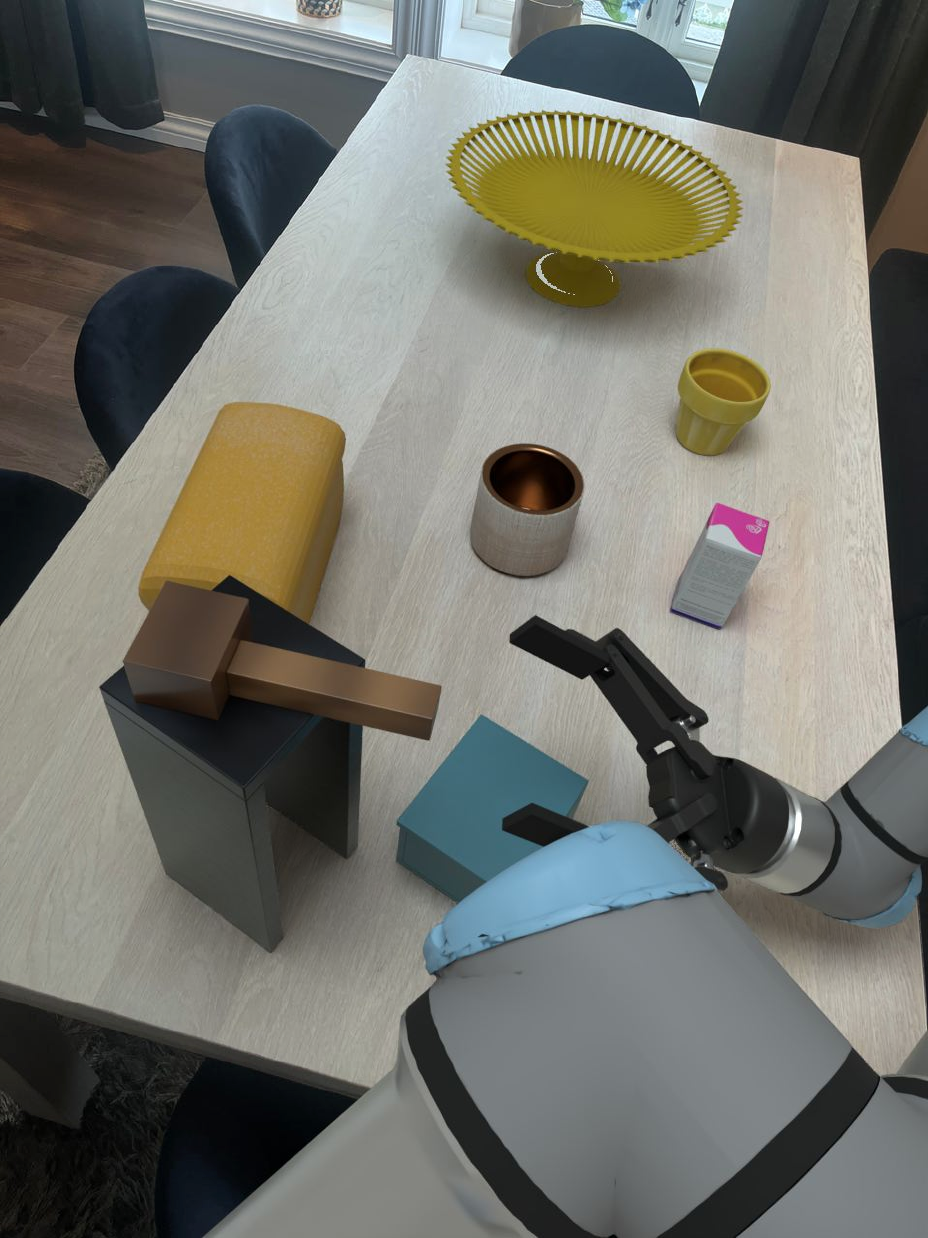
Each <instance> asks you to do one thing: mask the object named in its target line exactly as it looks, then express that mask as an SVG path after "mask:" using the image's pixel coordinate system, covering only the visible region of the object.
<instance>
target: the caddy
mask: <svg viewBox="0 0 928 1238" xmlns="http://www.w3.org/2000/svg"><path fill="white" fill-rule="evenodd" d="M587 787H588V785H587V786H586V788H585V789H584V791H583V792H582V794H581V796H580V797H579V799H578V800H577V802H576V803H575V805H574V806H573V808H572V809H571V811H570V812H569V814H568V815H567V817H568V818H570V819H573V818H574V817H575V813H576V811H577V809H578V807H579V806H580V805H579V804H580V803H581V800H582V798H583V796H584V794H585V791H586V789H587ZM395 856H396V857H395V861H396V862H397V863H399V864H400V865H401V866H403V867H404V868H406V869H408V870H409V871H410V872H411V873H413V874H415V875H416V876H418V877H419V878H420V879H421V880H423V881H425V882H426V883H428V884H429V885H430V886H432V887H433V888H435V889H436V890H438V891H439V892H441V893H442V894H444V895H445V896H447V898H449V899H451V900H452V901H454V902H455V903H457V904H458V903H459V902H461V901H462V900H463V899H464V898H466V897H467V896H468V895H470V894H471V893H472V892H474V891H475V890H476V889H478V888H479V887H480V886H482V885H483V883H481V882H480V881H478V880H477V879H475V878H474V877H472V876H471V875H469V874H468V873H466V872H465V871H463V870H462V869H460V868H459V867H458V866H456V865H455V864H453V863H452V862H450V861H449V860H447V859H446V858H444V857H443V856H441V855H440V854H438V853H437V852H435V851H434V850H432V849H431V848H429V847H428V846H426V845H425V844H424V843H422V842H421V841H419V840H418V839H416V838H415V837H413V836H412V835H410V834H409V833H407V832H406V831H404V830H403V829H401V828H400V827H399V832H398V841H397V849H396V855H395Z"/></svg>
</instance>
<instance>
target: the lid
mask: <svg viewBox="0 0 928 1238" xmlns="http://www.w3.org/2000/svg"><path fill="white" fill-rule="evenodd" d="M589 782H590V780H589V779H587V778H586V777H584V776H582V775H581V774H579V773H578V772H576V771H574V770H573V769H571V768H570V767H568V766H566V765H565V764H563V763H562V762H560V761H558V760H556V759H554V757H551V756H550V755H548V754H547V753H545V752H544V751H542V750H540V749H539V748H538V747H536V746H534V745H532V744H531V743H529V742H528V741H526V740H525V739H523V738H521V737H519V736H517V735H516V734H515V733H513V732H512V731H510V730H508V729H506V728H505V727H503V726H502V725H500V724H498V723H497V722H495V721H493V720H492V719H491V718H488V716H485V715H483V714H482V713H481V714H480V715H479V716H478V718H477V719H476V720H475V721H474V722H473V724H472V725H471V726H470V727H469V729H468V730H467V732H466V733H465V734H464V735H463V737H462V738H461V739H460V740H459V741H458V742H457V744H456V745H455V747H453V749H451V752H449V754H448V755H447V756H446V757H445V759H444V760H443V762H442V763H441V764H440V766H438V768H437V769H436V770H435V772H434V773H433V774H432V775H431V777H430V778H429V779H428V780H427V782H426V783H425V784H424V785H423V787H422V788H421V790H420V791H419V792H418V793H417V794H416V796H415V797H414V798H413V800H412V801H411V802H410V803H409V804H408V806H407V807H406V808H405V810H404V811H403V812H402V813H401V815H400V816H399V817H398V819H397V820H396V823H395V824H396V826H397V827H399V829H400V828H401V829H403V830H404V831H406V832H407V833H409V834H410V835H412V836H413V837H415V838H416V839H418V840H419V841H421V842H422V843H424V844H425V845H426V846H428V847H429V848H431V849H432V850H434V851H435V852H437V853H438V854H440V855H441V856H443V857H444V858H446V859H447V860H449V861H450V862H452V863H453V864H455V865H456V866H458V867H459V868H460V869H462V870H463V871H465V872H466V873H468V874H469V875H471V876H472V877H474V878H475V879H477V880H478V881H480V882H481V883H483V884H485V883H486V882H488V881H489V880H491V879H492V878H493V877H495V876H496V875H498V874H499V873H501V872H502V871H504V870H505V869H507V868H509V867H510V866H512V865H513V864H515V863H517V862H518V861H520V860H522V859H523V858H525V857H527V856H529V855H530V854H532V853H534V852H536V851H537V850H539V849H541V848H543V846H540V845H538V844H535V843H533V842H530V841H528V840H525V839H522V838H520V837H517V836H515V835H512V834H510V833H507V832H505V831H502V818H504V817H506V816H508V815H510V814H512V813H514V812H515V811H517V810H519V809H521V808H523V807H525V806H526V805H528V804H530V803H535V804H537V805H539V806H542V807H544V808H546V809H549V810H551V811H554V812H556V813H558V814H561V815H563V816H566V817H567V815H568V814H569V812H570V811H571V809H572V808H573V806H574V805H575V803H576V802H577V800H578V799H579V797H580V796H581V794H582V792H583V791H584V789H585V788H586V789H587V787H588V784H589ZM586 786H587V787H586ZM586 789H585V790H586ZM584 792H585V791H584Z"/></svg>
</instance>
